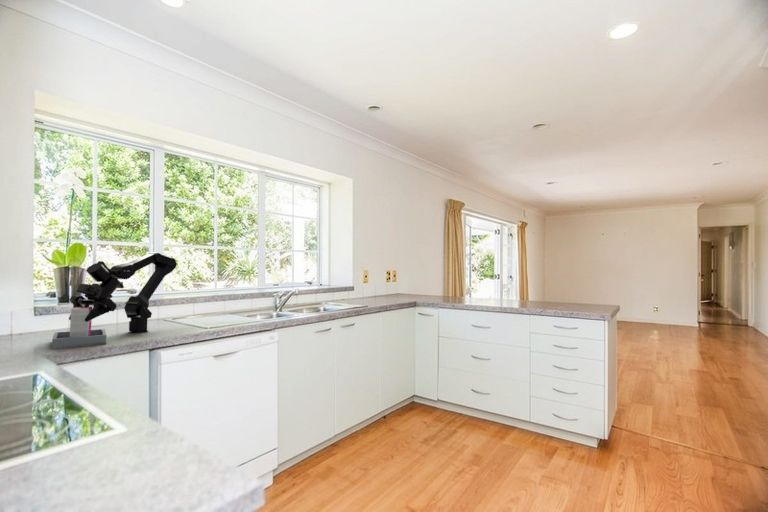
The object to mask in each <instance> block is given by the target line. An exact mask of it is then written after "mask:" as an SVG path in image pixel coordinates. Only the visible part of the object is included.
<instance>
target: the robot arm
mask: <svg viewBox="0 0 768 512" xmlns="http://www.w3.org/2000/svg"><path fill="white" fill-rule="evenodd" d="M152 264H153V265H154V271H153V273H152V274H151V276H150V277H149V279H148V280H147V281H146V283H145V285H144V286H143V287H142V289H141V290H140V291H139V293H138V294H137V295H136V296H134V295H130V296H129V298H128V300H127V301H126V302H125V303H124V304H125V305H124V312H125V314H126V318H127V319H130V320H129V321H128V331H129V333H131V334H133V333H137V334H138V333H147V332H149V330H148V319H151V318H152V315H153V312H152V311H151V310H150V309H149V307H150V302H149V301H150V299H151V297H152V296H153V294H154V293H155V291H156V290H157V288H158V287H159V286H160V284H162V281H163V280H164V278H165V277H166V276H167V275H169V274H171V273H172V272H173V271H174V270H175V269H177V266H178V264H177V260H176V259H175V258H174V257H170V256H166V255H163V254H162V253H159V252H155V251H154V252H153V251H151V252H149V253H147V254H145V255H143V256H141V257H138V258H136V259H134V260H132V261H129V262H128V263H121V264H116V265H113V266H111V268H109V267H108V266H107V265H106V263H105V262H104V261H102V260H101V261H100V260H99V261H97V262H96V263H93V264H91V265H89V266H88V267H87V268H86V273H87V274H88V275H89V276H90V277H91V278H92V279H93V280H94V281H95V282H97V283H92V284H88V283H80V284H79V285H78V287H77V289H76V292H77V293H81V294H84V296H83V295H72V296H71V297H70V298H69V299H68V300H69V302H71V304H72V308H75V307H90V306H92V310H91V312H90V313H89V314H88V315H87V317H86V318H85V321H86V322H88V321H90V320H94V319H96V318H98V317H100V316H102V315H104V314H106V313H107V314H109V312H114V311H115V310H116V308H117V304H116V303H115V301H113V299H112V298H113V295H112V294H113V293H114V292H115V291H116V290H117V289H124V287H125V286H124V282H123V281H120V280H128V279H130V278H132V277H133V276H134V275H135V273H136V272H137V271H139V270H141V269H143V268H145V267H147V266H149V265H152ZM98 283H99V284H98ZM68 320H69V321H71V313H70V314H69V317H68Z"/></svg>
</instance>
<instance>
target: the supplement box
mask: <svg viewBox="0 0 768 512" xmlns="http://www.w3.org/2000/svg"><path fill="white" fill-rule="evenodd" d="M92 309H93V306H89V307H75V308H73V307H72V308H71V309H70V314H71V320H69V321H70V323H69V331H70V337H83V336H90V335H91V330H92V320H93V319H92V320H90V321H88V322H86V321H85V318H86V317H87V315H88V314H89V313H90V312H91V310H92Z"/></svg>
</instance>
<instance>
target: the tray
mask: <svg viewBox="0 0 768 512" xmlns="http://www.w3.org/2000/svg"><path fill="white" fill-rule="evenodd" d="M107 337H108V336H107V332H106V329H105V328H100V329H99V328H98V329H91V335H90V336H83V337H70V330H67V331H56V332H54V333H53V337H52V339H51V341H52V342H51V349H52V350H57V348H58V349H67V347H69V348H77V347H78V346H81V347H89V346H90V347H91V346H99V345H107ZM78 348H79V347H78Z"/></svg>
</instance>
